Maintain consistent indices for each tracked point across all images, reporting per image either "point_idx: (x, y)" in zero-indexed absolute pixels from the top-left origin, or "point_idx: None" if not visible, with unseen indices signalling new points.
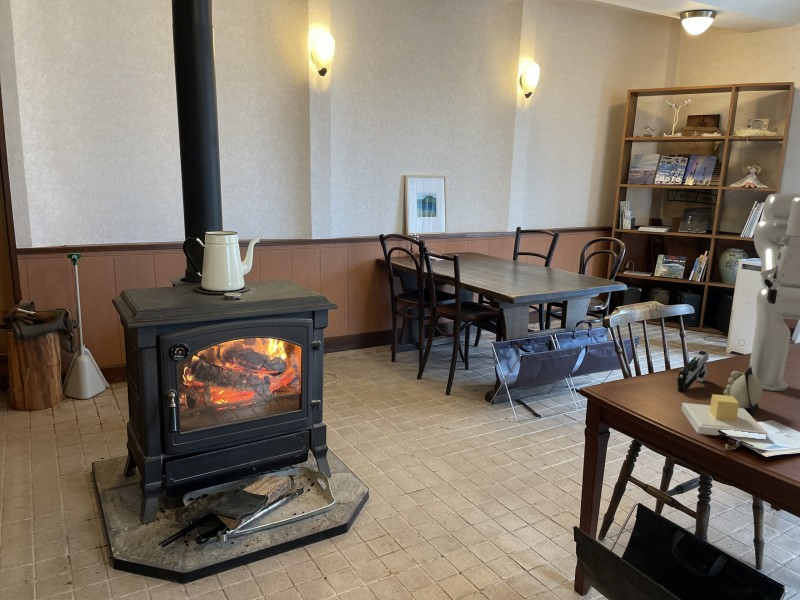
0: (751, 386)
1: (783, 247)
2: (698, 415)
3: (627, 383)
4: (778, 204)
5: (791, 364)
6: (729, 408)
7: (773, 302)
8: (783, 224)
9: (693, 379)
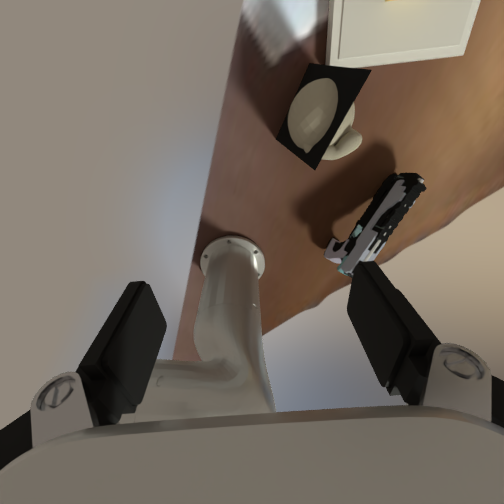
0: (328, 87)
1: None
2: None
3: (478, 189)
4: None
5: (177, 345)
6: None
7: (373, 264)
8: None
9: (368, 212)
